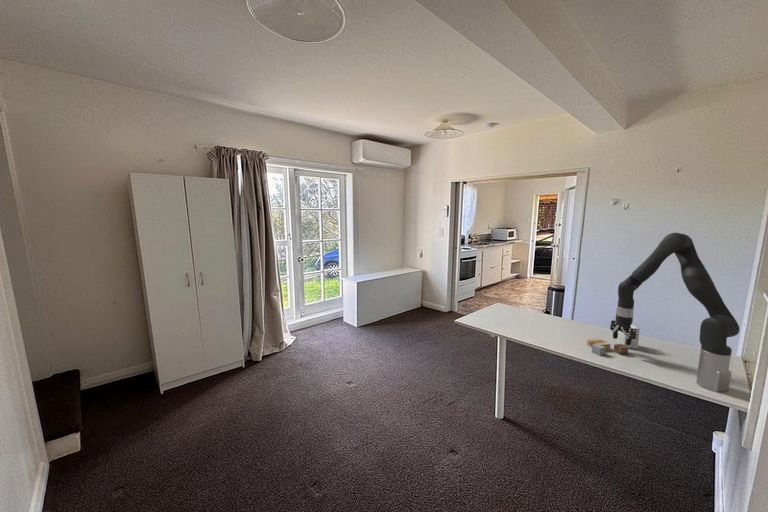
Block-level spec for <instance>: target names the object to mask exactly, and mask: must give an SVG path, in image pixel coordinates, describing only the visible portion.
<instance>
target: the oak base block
mask: <svg viewBox="0 0 768 512" xmlns="http://www.w3.org/2000/svg"><path fill="white" fill-rule="evenodd" d="M595 344H599V345H601V346H604V347H606V348H605V351H610V350H611V343H610V342H607V341H606V340H603V339H601V338H590V339H589V338H587V340H586V345H587V346H588V347H589V348H591V349H592V345H595Z"/></svg>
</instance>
